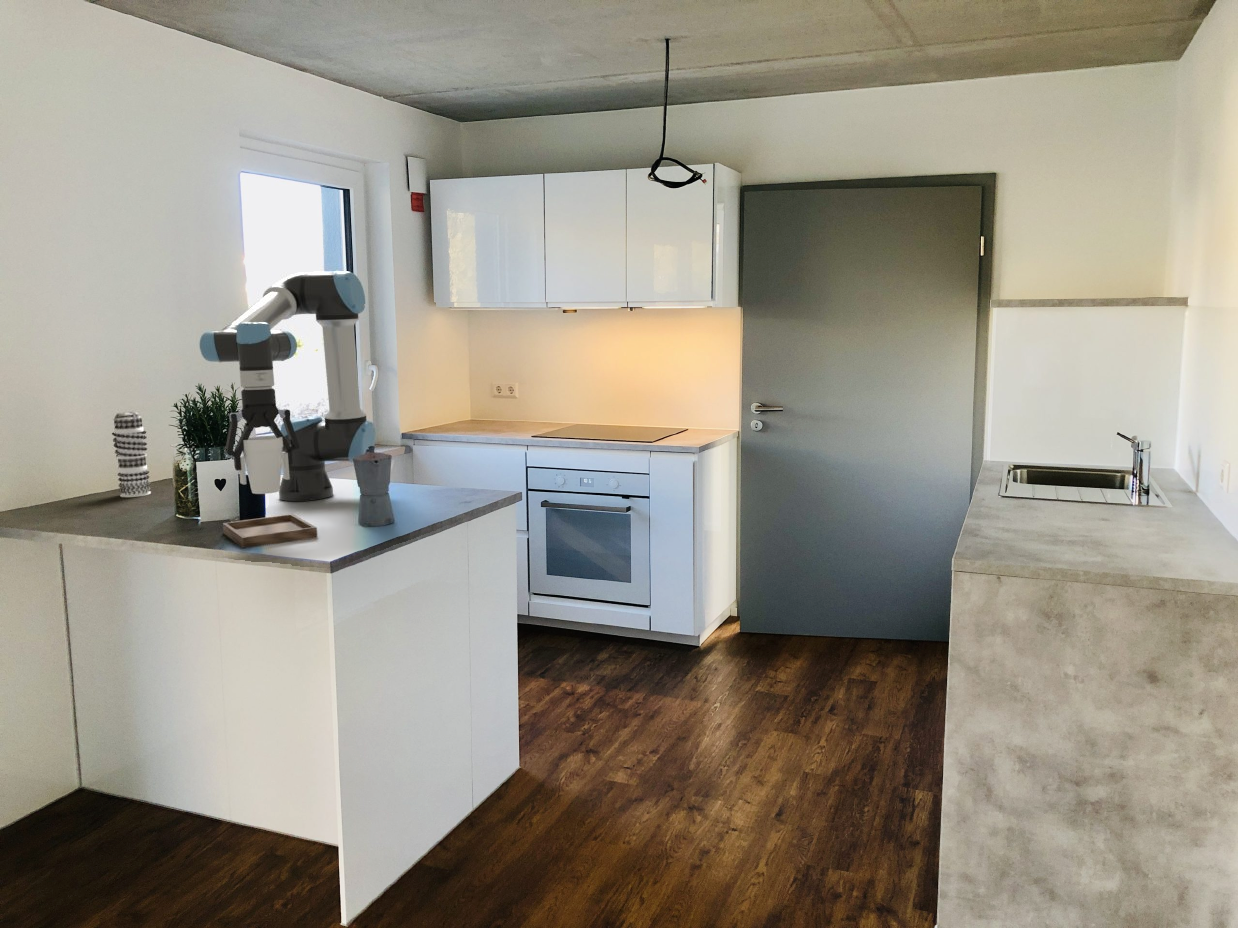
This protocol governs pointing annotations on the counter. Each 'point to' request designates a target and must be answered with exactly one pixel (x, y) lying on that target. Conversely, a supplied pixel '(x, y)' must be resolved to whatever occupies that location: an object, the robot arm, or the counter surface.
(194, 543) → the counter surface
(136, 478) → the decorative candle
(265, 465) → the foam cup
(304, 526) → the walnut tray
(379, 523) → the moka pot
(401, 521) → the counter surface
